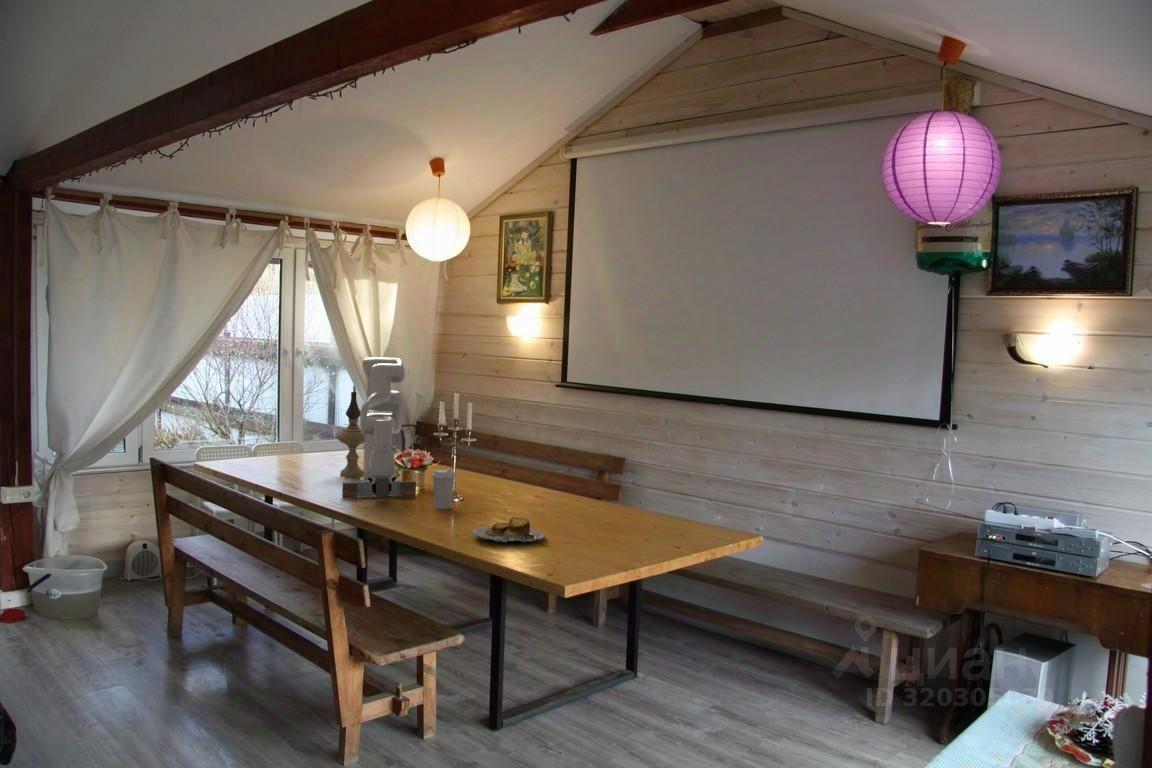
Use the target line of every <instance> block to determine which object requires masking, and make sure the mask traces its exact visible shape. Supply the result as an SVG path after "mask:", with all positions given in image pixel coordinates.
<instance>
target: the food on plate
mask: <svg viewBox="0 0 1152 768" xmlns="http://www.w3.org/2000/svg"><path fill="white" fill-rule="evenodd" d="M472 533H473V534H474V535H475V536H477V537H476V538H475V539H478V538H480V539H483V540H492V541H494V542H503V543H507V542H508V541H510V542H511V541H512V542H513V541H517V542H518V541H519V542H521V543H527V542H528V541H529V543H532V542H536V541H543V540H544V538H545V537H546V536H547V535H546V534H545V533H543V532H540V531H537V530H533V529H531V523H530V521H529V520H528V519H526V518H524V517H523V518H522V517H513V516H512V517H511V518H510V519H509V522H496V523H494V524H492V527H491V526H489V527H486V526H484V527H480V528H474V529H473V530H472ZM529 533H532V534H534V535H535V536H536V539H534V535H530V534H529Z"/></svg>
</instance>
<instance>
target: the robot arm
mask: <svg viewBox="0 0 1152 768" xmlns="http://www.w3.org/2000/svg"><path fill="white" fill-rule="evenodd" d="M361 363H362V364H361V365H362V366H361V367H362V370H363V374H364V376H365V378H366V382H367V383H366V387H367V388H366V400H365V401H364V402H363V404H362V406H361V409H360V416H359V417H360V418H359V419H360V421H359V423H360V424H359V426H360V428H361V431H362V432H363V433H364V443H363V445H364V446H363V471H364V477H362V478H359V481H370V482H371V483H372V491H373V493H374V494H376V484H375V481H376V478H377V477H388V479H389V494H390V491H391V488H392V483H393V482H394V481H397V479H399V478H400V477H401V473H400V472H399V471H398V470H397V469H396V465H395V453H394V450H396V449H397V448H396V446H394V445H393V434H399V433H400V432H401V430H402V427H403V426H402V424H403V423H402V421H403V396H402V393H401V392H400V391H398V390H392V389H391V388H392V385H391V384H402V383H403V382H404V381H405V373H406V372H405V366H404V364H403V363H404V362H403V360H402V359H401V358H400V357H398V358H397V357H376V356H372V357H365V358H364V359H363V360H362V362H361ZM369 410H370V411H373V412H371V413H370V412H369ZM368 412H369V413H368Z"/></svg>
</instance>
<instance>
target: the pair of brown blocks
mask: <svg viewBox="0 0 1152 768" xmlns="http://www.w3.org/2000/svg"><path fill="white" fill-rule="evenodd" d="M400 481H401V495H400V498H416V493H417V482H416V480H404V481H403V480H400ZM341 495H342V497H343V498H356V499H358V497H359V496H358V481H354V482H353V481H346V482H342V494H341ZM342 497H341V498H342Z"/></svg>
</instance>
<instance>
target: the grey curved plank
mask: <svg viewBox="0 0 1152 768" xmlns="http://www.w3.org/2000/svg"><path fill="white" fill-rule="evenodd" d="M401 481H402V480H395V481H394V482H393V483H392V488H391V491H390V494H389V496H401ZM357 482H358V497H376V496H375V494H374V493H373V491H372V483H371V482H370V481H360V480H359V481H357Z"/></svg>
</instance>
